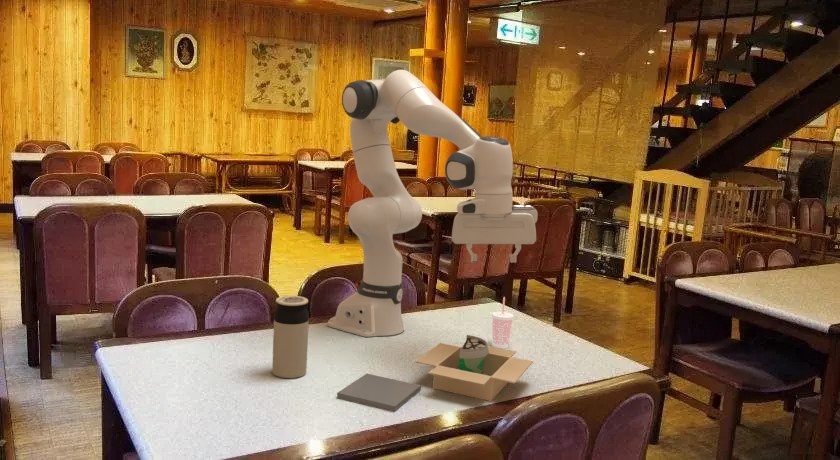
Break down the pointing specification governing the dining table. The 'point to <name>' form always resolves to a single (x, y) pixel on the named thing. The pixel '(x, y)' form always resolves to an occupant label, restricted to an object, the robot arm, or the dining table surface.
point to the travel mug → (290, 337)
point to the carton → (471, 383)
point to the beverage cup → (501, 328)
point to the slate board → (379, 392)
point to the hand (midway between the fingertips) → (493, 262)
